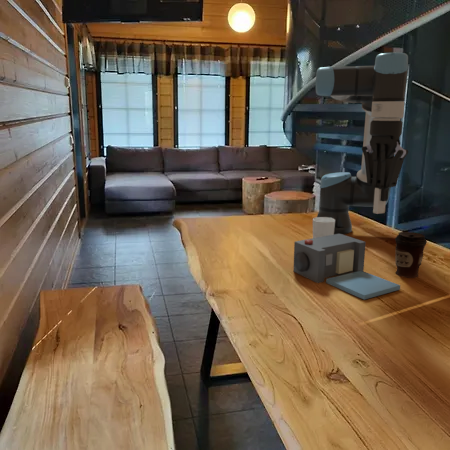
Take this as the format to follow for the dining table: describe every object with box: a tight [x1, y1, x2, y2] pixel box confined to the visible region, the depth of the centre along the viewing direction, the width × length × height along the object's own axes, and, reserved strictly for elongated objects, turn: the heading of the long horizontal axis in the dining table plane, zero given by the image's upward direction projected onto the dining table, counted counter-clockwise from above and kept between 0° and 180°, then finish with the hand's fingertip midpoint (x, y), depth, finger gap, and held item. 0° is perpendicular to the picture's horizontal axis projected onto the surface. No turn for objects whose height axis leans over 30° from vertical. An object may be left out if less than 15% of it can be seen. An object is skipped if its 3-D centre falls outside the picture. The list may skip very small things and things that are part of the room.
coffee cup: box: [394, 231, 428, 279], centre depth 136 cm, size 9×8×13 cm
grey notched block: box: [292, 234, 367, 284], centre depth 138 cm, size 19×11×11 cm, turn 120°
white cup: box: [312, 216, 335, 238], centre depth 166 cm, size 8×8×10 cm
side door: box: [325, 270, 401, 300], centre depth 128 cm, size 14×2×14 cm
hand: (378, 212), depth 120 cm, fingers closed
